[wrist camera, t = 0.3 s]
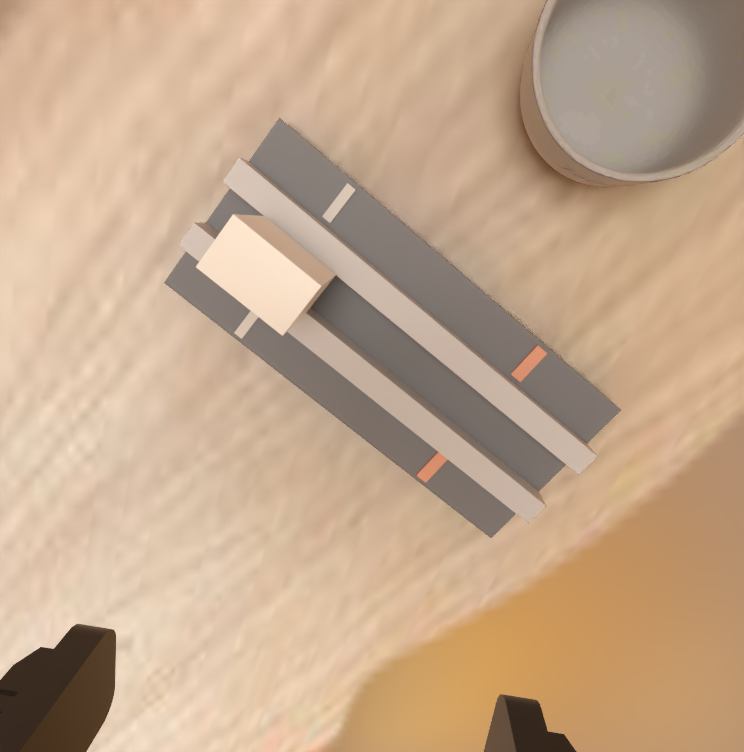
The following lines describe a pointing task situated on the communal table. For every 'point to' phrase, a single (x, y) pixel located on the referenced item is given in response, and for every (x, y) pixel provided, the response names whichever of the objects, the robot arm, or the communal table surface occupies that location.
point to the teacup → (634, 87)
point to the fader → (265, 270)
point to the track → (402, 342)
